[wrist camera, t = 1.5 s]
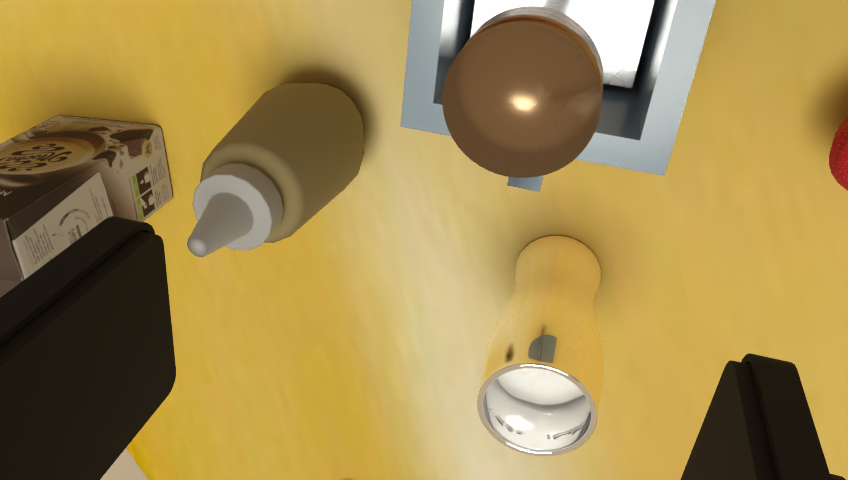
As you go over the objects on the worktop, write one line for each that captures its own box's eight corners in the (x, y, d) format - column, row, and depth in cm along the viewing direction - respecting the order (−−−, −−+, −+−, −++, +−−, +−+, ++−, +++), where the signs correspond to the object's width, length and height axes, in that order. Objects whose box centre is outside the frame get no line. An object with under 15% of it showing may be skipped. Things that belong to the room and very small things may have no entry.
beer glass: (496, 241, 53) (455, 371, 40) (592, 219, 50) (580, 351, 38) (526, 319, 56) (496, 465, 43) (618, 302, 53) (616, 452, 40)
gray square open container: (712, -143, 39) (754, -129, 26) (642, 120, 46) (648, 231, 34) (489, -170, 41) (426, -169, 28) (456, 87, 48) (395, 180, 35)
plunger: (677, -97, 33) (721, -31, 18) (631, 83, 37) (635, 263, 22) (494, -121, 34) (385, -79, 19) (470, 56, 39) (365, 208, 23)
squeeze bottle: (375, 185, 53) (274, 329, 38) (271, 164, 54) (131, 295, 39) (384, 77, 49) (274, 190, 34) (270, 56, 50) (115, 156, 35)
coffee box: (161, 121, 55) (6, 219, 41) (175, 199, 58) (35, 314, 44) (54, 111, 57) (-128, 201, 43) (73, 187, 60) (-91, 293, 46)
